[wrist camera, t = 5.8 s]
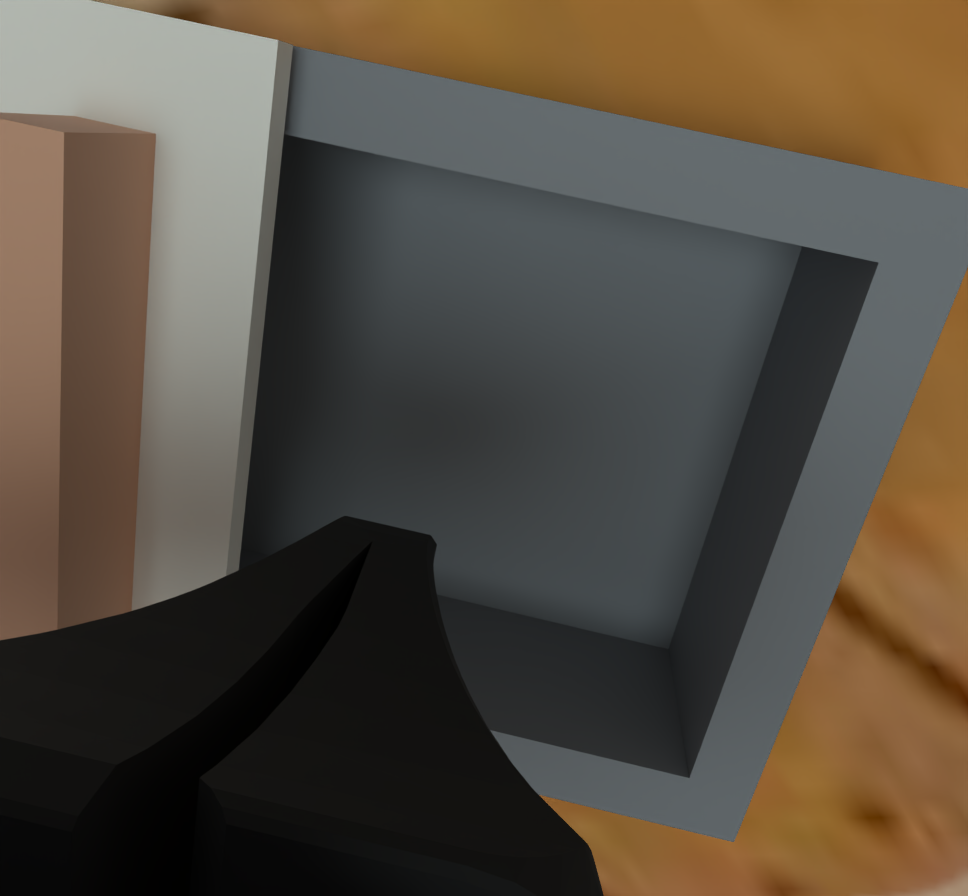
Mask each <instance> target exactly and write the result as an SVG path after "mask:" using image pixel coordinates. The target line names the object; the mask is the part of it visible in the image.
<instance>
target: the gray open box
mask: <svg viewBox="0 0 968 896" xmlns="http://www.w3.org/2000/svg"><path fill="white" fill-rule="evenodd" d="M967 267H968V189H967V188H962V187H957V186H953V185H948V184H943V183H938V182H934V181H929V180H924V179H919V178H915V177H910V176H905V175H901V174H896V173H891V172H886V171H882V170H877V169H872V168H868V167H863V166H858V165H853V164H849V163H844V162H839V161H835V160H830V159H825V158H820V157H816V156H811V155H806V154H801V153H797V152H792V151H787V150H783V149H778V148H773V147H768V146H764V145H759V144H754V143H750V142H745V141H740V140H735V139H731V138H726V137H721V136H717V135H712V134H707V133H702V132H698V131H693V130H688V129H684V128H679V127H674V126H669V125H665V124H660V123H655V122H650V121H646V120H641V119H636V118H632V117H627V116H622V115H617V114H613V113H608V112H603V111H599V110H594V109H589V108H584V107H580V106H575V105H570V104H566V103H561V102H556V101H551V100H547V99H542V98H537V97H532V96H528V95H523V94H518V93H514V92H509V91H504V90H499V89H495V88H490V87H485V86H481V85H476V84H471V83H466V82H462V81H457V80H452V79H448V78H443V77H438V76H433V75H429V74H424V73H419V72H414V71H410V70H405V69H400V68H396V67H391V66H386V65H381V64H377V63H372V62H367V61H363V60H358V59H353V58H348V57H344V56H339V55H334V54H330V53H325V52H320V51H315V50H311V49H306V48H301V47H296V46H293V51H292V60H291V70H290V79H289V89H288V99H287V108H286V118H285V128H284V137H283V147H282V157H281V166H280V176H279V186H278V195H277V205H276V214H275V224H274V234H273V243H272V253H271V263H270V272H269V282H268V292H267V301H266V311H265V321H264V330H263V340H262V349H261V359H260V369H259V378H258V388H257V398H256V407H255V417H254V427H253V436H252V446H251V456H250V465H249V475H248V484H247V494H246V504H245V513H244V523H243V533H242V542H241V552H240V562H239V570H240V569H243V568H245V567H247V566H249V565H251V564H254V563H256V562H258V561H260V560H262V559H264V558H266V557H268V556H270V555H272V554H274V553H276V552H278V551H279V550H281V549H283V548H285V547H287V546H289V545H291V544H293V543H295V542H297V541H299V540H300V539H302V538H304V537H306V536H308V535H309V534H311V533H313V532H315V531H317V530H318V529H320V528H322V527H324V526H326V525H327V524H329V523H331V522H333V521H335V520H337V519H339V518H341V517H343V516H349V517H354V518H358V519H362V520H367V521H371V522H376V523H380V524H384V525H389V526H393V527H398V528H402V529H407V530H411V531H415V532H420V533H424V534H429V535H431V536H432V538H433V539H434V541H435V542H436V544H437V547H436V552H435V558H434V563H433V566H434V579H435V587H436V593H437V598H438V603H439V607H440V612H441V617H442V620H443V624H444V628H445V631H446V634H447V638H448V641H449V644H450V647H451V650H452V653H453V655H454V658H455V661H456V663H457V666H458V668H459V671H460V673H461V676H462V678H463V680H464V682H465V684H466V686H467V689H468V691H469V693H470V695H471V697H472V699H473V701H474V703H475V705H476V706H477V708H478V710H479V712H480V714H481V716H482V718H483V720H484V721H485V723H486V725H487V726H488V728H489V729H490V731H491V732H492V734H493V735H494V737H495V738H496V740H497V741H498V743H499V744H500V746H501V747H502V749H503V750H504V752H505V753H506V755H507V756H508V758H509V759H510V761H511V762H512V764H513V765H514V766H515V767H516V769H517V770H518V771H519V772H520V774H521V775H522V776H523V777H524V779H525V780H526V781H527V782H528V783H529V785H530V786H531V787H532V788H533V789H534V791H535V792H536V793H537V794H539V795H543V796H547V797H551V798H555V799H559V800H563V801H567V802H571V803H576V804H580V805H584V806H588V807H592V808H596V809H600V810H604V811H608V812H612V813H617V814H621V815H625V816H629V817H633V818H637V819H641V820H645V821H649V822H654V823H658V824H662V825H666V826H670V827H674V828H678V829H682V830H686V831H690V832H695V833H699V834H703V835H707V836H711V837H715V838H719V839H723V840H727V841H731V842H734V840H735V838H736V835H737V833H738V831H739V828H740V826H741V823H742V821H743V818H744V816H745V813H746V811H747V808H748V806H749V803H750V801H751V799H752V796H753V794H754V791H755V789H756V786H757V784H758V781H759V779H760V776H761V774H762V771H763V769H764V767H765V764H766V762H767V759H768V757H769V754H770V752H771V749H772V747H773V744H774V742H775V740H776V737H777V735H778V732H779V730H780V727H781V725H782V722H783V720H784V717H785V715H786V712H787V710H788V708H789V705H790V703H791V700H792V698H793V695H794V693H795V690H796V688H797V685H798V683H799V680H800V678H801V676H802V673H803V671H804V668H805V666H806V663H807V661H808V658H809V656H810V653H811V651H812V649H813V646H814V644H815V641H816V639H817V636H818V634H819V631H820V629H821V626H822V624H823V621H824V619H825V617H826V614H827V612H828V609H829V607H830V604H831V602H832V599H833V597H834V594H835V592H836V589H837V587H838V585H839V582H840V580H841V577H842V575H843V572H844V570H845V567H846V565H847V562H848V560H849V558H850V555H851V553H852V550H853V548H854V545H855V543H856V540H857V538H858V535H859V533H860V530H861V528H862V526H863V523H864V521H865V518H866V516H867V513H868V511H869V508H870V506H871V503H872V501H873V498H874V496H875V494H876V491H877V489H878V486H879V484H880V481H881V479H882V476H883V474H884V471H885V469H886V466H887V464H888V462H889V459H890V457H891V454H892V452H893V449H894V447H895V444H896V442H897V439H898V437H899V435H900V432H901V430H902V427H903V425H904V422H905V420H906V417H907V415H908V412H909V410H910V407H911V405H912V403H913V400H914V398H915V395H916V393H917V390H918V388H919V385H920V383H921V380H922V378H923V375H924V373H925V371H926V368H927V366H928V363H929V361H930V358H931V356H932V353H933V351H934V348H935V346H936V344H937V341H938V339H939V336H940V334H941V331H942V329H943V326H944V324H945V321H946V319H947V316H948V314H949V312H950V309H951V307H952V304H953V302H954V299H955V297H956V294H957V292H958V289H959V287H960V284H961V282H962V280H963V277H964V275H965V272H966V270H967Z"/></svg>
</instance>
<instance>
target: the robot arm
mask: <svg viewBox="0 0 968 896" xmlns="http://www.w3.org/2000/svg"><path fill="white" fill-rule="evenodd" d="M436 547H437V544H436V542H435V541H434V539H433V538H432V536H431V535H429V534H424V533H420V532H415V531H411V530H407V529H402V528H398V527H393V526H389V525H384V524H380V523H376V522H371V521H367V520H362V519H358V518H354V517H349V516H343V517H341V518H339V519H337V520H335V521H333V522H331V523H329V524H327V525H326V526H324V527H322V528H320V529H318V530H317V531H315V532H313V533H311V534H309V535H308V536H306V537H304V538H302V539H300V540H299V541H297V542H295V543H293V544H291V545H289V546H287V547H285V548H283V549H281V550H279V551H278V552H276V553H274V554H272V555H270V556H268V557H266V558H264V559H262V560H260V561H258V562H256V563H254V564H251V565H249V566H247V567H245V568H243V569H240V570H238V571H236V572H234V573H232V574H229V575H227V576H225V577H223V578H220V579H218V580H216V581H214V582H212V583H209V584H207V585H205V586H202V587H200V588H197V589H195V590H192V591H190V592H187V593H184V594H181V595H179V596H176V597H173V598H170V599H167V600H164V601H161V602H158V603H155V604H152V605H149V606H146V607H143V608H140V609H137V610H133V611H130V612H126V613H123V614H119V615H115V616H111V617H107V618H102V619H98V620H94V621H90V622H86V623H82V624H78V625H74V626H70V627H66V628H61V629H57V630H53V631H48V632H43V633H38V634H33V635H27V636H21V637H16V638H10V639H5V640H0V896H603V892H602V888H601V884H600V880H599V877H598V873H597V869H596V865H595V862H594V858H593V855H592V852H591V849H590V848H589V846H588V844H587V843H586V842H585V841H584V840H583V839H582V838H581V837H580V836H579V835H578V834H577V833H576V832H575V831H574V830H573V829H572V828H571V827H570V826H569V825H568V824H567V823H566V822H565V821H564V820H563V819H562V818H561V817H560V816H559V815H558V814H557V813H556V812H555V811H554V810H553V809H552V808H551V807H550V806H549V805H548V804H547V803H546V802H545V801H544V800H543V799H542V798H541V797H540V796H539V795H538V794H537V793H536V792H535V791H534V789H533V788H532V787H531V786H530V785H529V783H528V782H527V781H526V780H525V779H524V777H523V776H522V775H521V774H520V772H519V771H518V770H517V769H516V767H515V766H514V765H513V764H512V762H511V761H510V759H509V758H508V756H507V755H506V753H505V752H504V750H503V749H502V747H501V746H500V744H499V743H498V741H497V740H496V738H495V737H494V735H493V734H492V732H491V731H490V729H489V728H488V726H487V725H486V723H485V721H484V720H483V718H482V716H481V714H480V712H479V710H478V708H477V706H476V705H475V703H474V701H473V699H472V697H471V695H470V693H469V691H468V689H467V686H466V684H465V682H464V680H463V678H462V676H461V673H460V671H459V668H458V666H457V663H456V661H455V658H454V655H453V653H452V650H451V647H450V644H449V641H448V638H447V634H446V631H445V628H444V624H443V620H442V617H441V612H440V607H439V603H438V598H437V593H436V587H435V579H434V566H433V563H434V558H435V552H436Z"/></svg>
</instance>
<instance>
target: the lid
mask: <svg viewBox="0 0 968 896" xmlns="http://www.w3.org/2000/svg"><path fill="white" fill-rule="evenodd" d="M292 51H293V45H292V44H288V43H285V42H282V41H279V40H275V39H270V38H266V37H261V36H256V35H251V34H247V33H242V32H237V31H233V30H228V29H223V28H218V27H214V26H209V25H204V24H199V23H195V22H190V21H185V20H181V19H176V18H171V17H166V16H162V15H157V14H152V13H148V12H143V11H138V10H133V9H129V8H124V7H119V6H114V5H110V4H105V3H100V2H96V1H91V0H0V640H5V639H10V638H16V637H21V636H27V635H33V634H38V633H43V632H48V631H53V630H57V629H61V628H66V627H70V626H74V625H78V624H82V623H86V622H90V621H94V620H98V619H102V618H107V617H111V616H115V615H119V614H123V613H126V612H130V611H133V610H137V609H140V608H143V607H146V606H149V605H152V604H155V603H158V602H161V601H164V600H167V599H170V598H173V597H176V596H179V595H181V594H184V593H187V592H190V591H192V590H195V589H197V588H200V587H202V586H205V585H207V584H209V583H212V582H214V581H216V580H218V579H220V578H223V577H225V576H227V575H229V574H232V573H234V572H236V571H238V570H239V562H240V552H241V542H242V533H243V523H244V513H245V504H246V494H247V484H248V475H249V465H250V456H251V446H252V436H253V427H254V417H255V407H256V398H257V388H258V378H259V369H260V359H261V349H262V340H263V330H264V321H265V311H266V301H267V292H268V282H269V272H270V263H271V253H272V243H273V234H274V224H275V214H276V205H277V195H278V186H279V176H280V166H281V157H282V147H283V137H284V128H285V118H286V108H287V99H288V89H289V79H290V70H291V60H292Z"/></svg>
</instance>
